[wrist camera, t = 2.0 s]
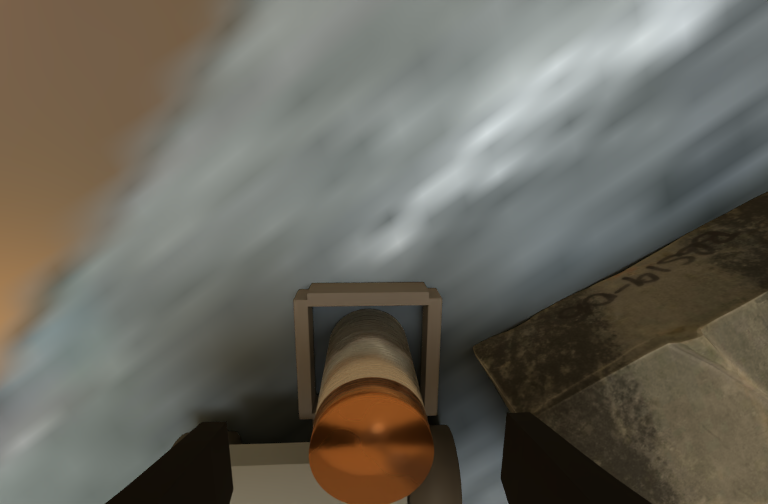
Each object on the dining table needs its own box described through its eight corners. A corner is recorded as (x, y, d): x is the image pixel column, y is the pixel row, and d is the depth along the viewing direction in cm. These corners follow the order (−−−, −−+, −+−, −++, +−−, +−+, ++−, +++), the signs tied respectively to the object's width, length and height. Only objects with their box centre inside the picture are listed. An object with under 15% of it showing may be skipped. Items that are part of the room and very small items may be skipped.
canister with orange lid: (406, 379, 16) (431, 503, 10) (329, 381, 16) (310, 509, 10) (408, 308, 15) (436, 397, 9) (327, 309, 15) (305, 400, 9)
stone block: (831, 350, 17) (1028, 430, 12) (545, 488, 18) (618, 617, 13) (787, 174, 15) (1003, 181, 10) (466, 340, 16) (516, 424, 11)
